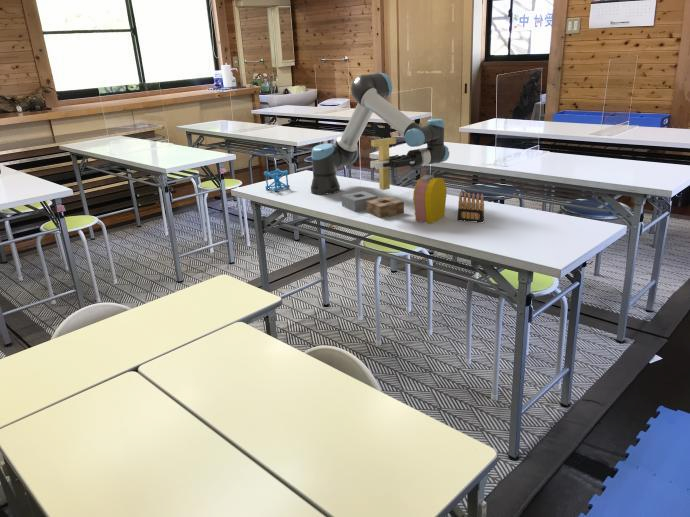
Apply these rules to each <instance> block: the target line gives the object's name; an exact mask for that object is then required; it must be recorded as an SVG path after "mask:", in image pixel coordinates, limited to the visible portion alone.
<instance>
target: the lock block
mask: <svg viewBox="0 0 690 517" xmlns="http://www.w3.org/2000/svg"><path fill="white" fill-rule="evenodd" d="M404 205H405V201H402V200H399V199H396V198H394V197H391V196H385V197H379V198H378V197H377V199H374V200H369V201H366V209H365V210H366V211H365V212H366V213H368V214H370V215H373V216H375V217H378V218H380V219H383V218H387V217H393V216H396V215H397V216H398V215H401V214H405V206H404ZM392 215H393V216H392Z"/></svg>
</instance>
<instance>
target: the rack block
mask: <svg viewBox="0 0 690 517" xmlns="http://www.w3.org/2000/svg"><path fill="white" fill-rule="evenodd" d="M374 199H378V196H377V195H375V194H374V193H373V194H372V193H370V192H367V191H364V190H362V191H356V192H351V193H347V194H342V195H341V206H342V207H344V206H345V207H344V208H346V207H347V208H346V209H348V208H349V209H348V210H350V211H353V210H354V211H353V212H358V211H359V210H360V211H363V210H366V201H369V200H374ZM360 211H359V212H360Z"/></svg>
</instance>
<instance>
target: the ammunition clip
mask: <svg viewBox="0 0 690 517" xmlns="http://www.w3.org/2000/svg"><path fill="white" fill-rule="evenodd" d="M458 195H459V196H458V205H457V206H458V208H457V218H456V220H457V221H459V220H462V221H461V222H469V221H477V222H476V223H479V222H483V221H484V222H485V201H484V200H485V199H484V194H483V193H481V195H480V194H479V192H478V193H477V194H476V195H475V193H474V192H473V193H472V195H471V193H470V192H469V191H468V193H466V192H465V191H464V192H463V193H462V191H460V192H459V194H458ZM464 220H465V221H464ZM484 222H483V223H484Z"/></svg>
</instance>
